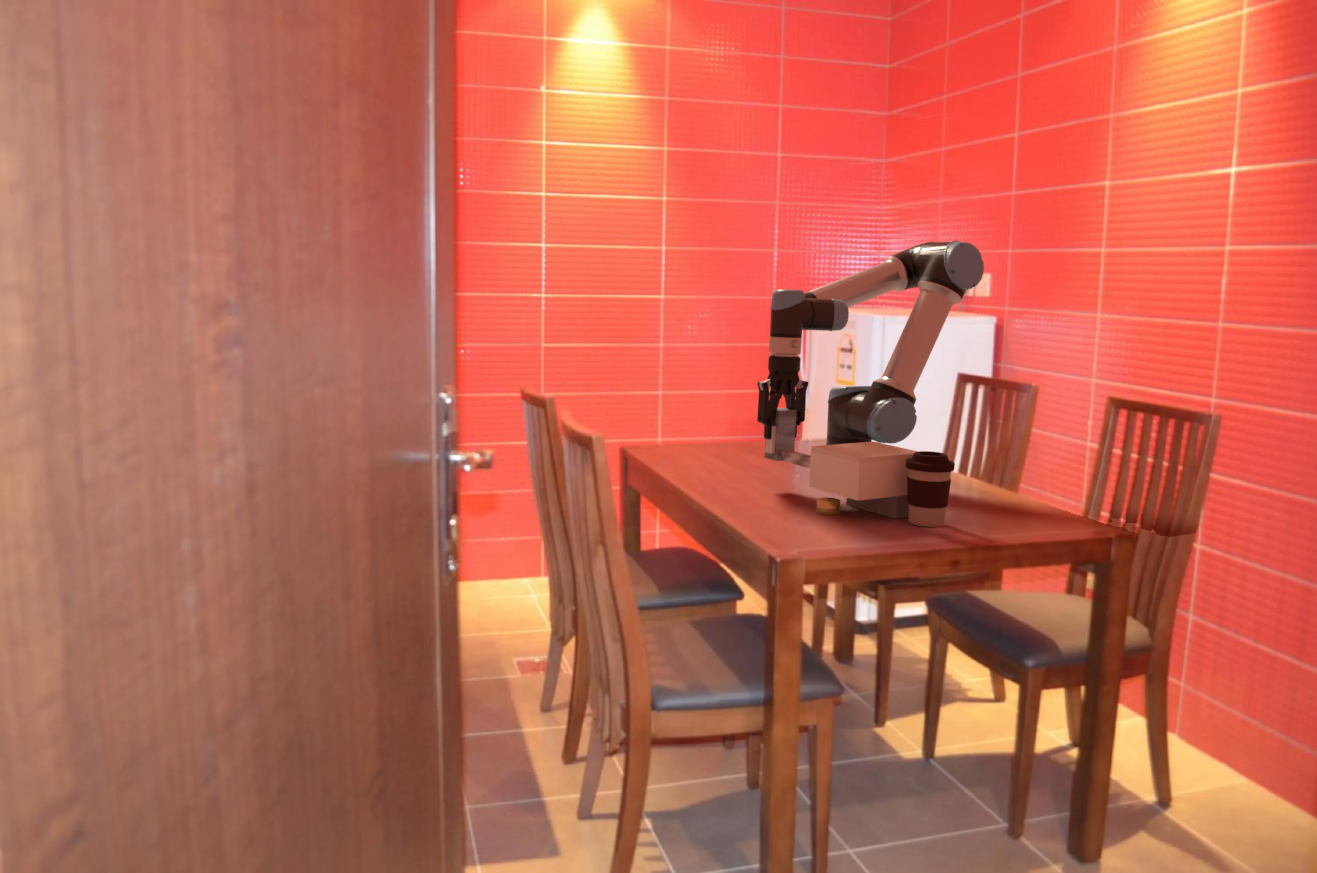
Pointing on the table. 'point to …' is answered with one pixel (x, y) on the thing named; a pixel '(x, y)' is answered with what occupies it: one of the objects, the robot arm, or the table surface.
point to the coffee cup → (928, 487)
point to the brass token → (828, 506)
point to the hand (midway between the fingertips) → (779, 451)
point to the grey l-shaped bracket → (786, 439)
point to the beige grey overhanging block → (864, 475)
